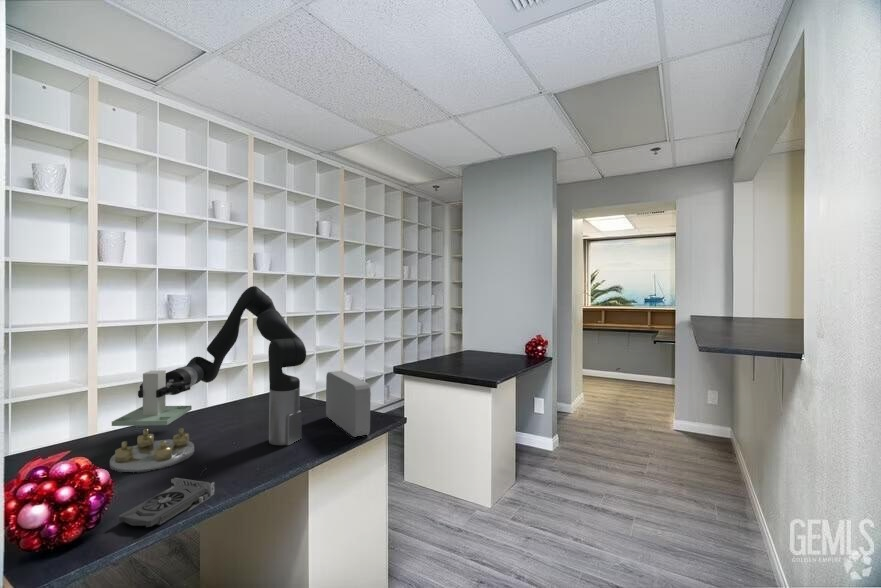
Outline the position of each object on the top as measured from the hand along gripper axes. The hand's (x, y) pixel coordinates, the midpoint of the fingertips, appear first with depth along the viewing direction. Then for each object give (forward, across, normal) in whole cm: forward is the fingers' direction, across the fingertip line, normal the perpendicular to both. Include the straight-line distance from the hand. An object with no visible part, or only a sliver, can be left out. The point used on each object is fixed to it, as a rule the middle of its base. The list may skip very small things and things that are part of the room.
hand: (148, 394), depth 116 cm
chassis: (-2, 0, +19) cm, 19 cm away
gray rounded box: (-25, +52, +20) cm, 62 cm away
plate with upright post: (-3, 0, +8) cm, 8 cm away
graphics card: (+27, +18, +20) cm, 38 cm away
